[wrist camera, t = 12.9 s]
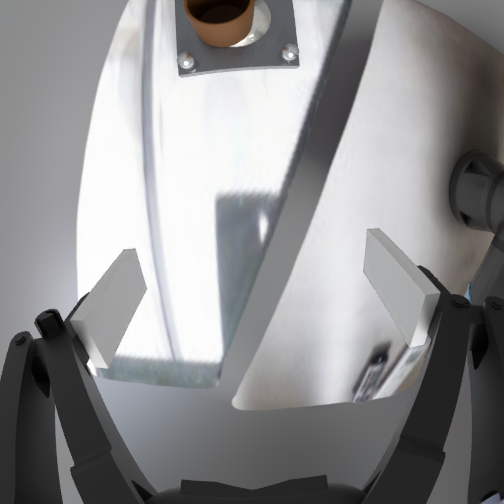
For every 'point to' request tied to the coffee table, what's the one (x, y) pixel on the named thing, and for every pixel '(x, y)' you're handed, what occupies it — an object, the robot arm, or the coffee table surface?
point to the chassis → (241, 43)
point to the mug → (220, 20)
